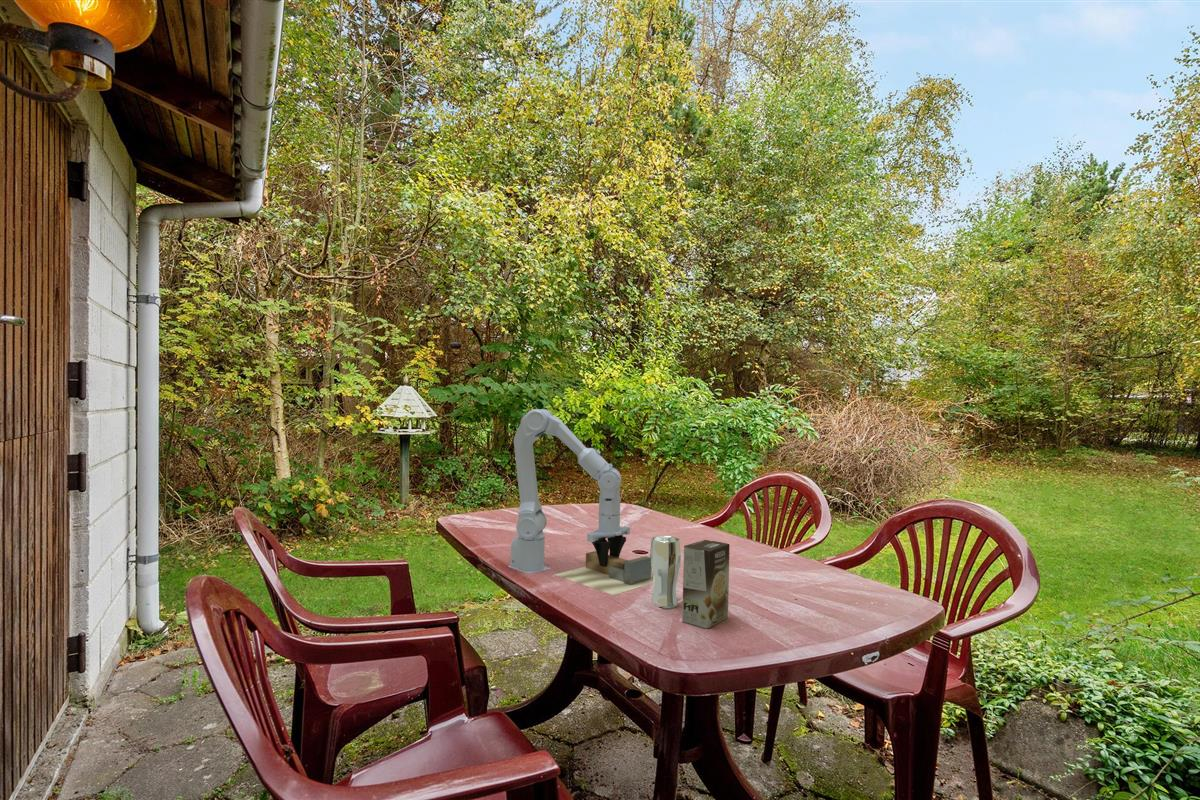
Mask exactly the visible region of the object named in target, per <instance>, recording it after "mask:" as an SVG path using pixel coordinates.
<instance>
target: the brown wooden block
mask: <svg viewBox="0 0 1200 800" xmlns="http://www.w3.org/2000/svg"><path fill="white" fill-rule="evenodd" d="M629 560H630V559H626V558H622V557H619V558H618V557H615V556H611V555H610V554H608V563H607V567H603V566H600V564H599V559H598V555H597V552H596V550H595V551H590V552H586V553H585V567H586V568H588V569H591V570H594V571H598V572H601V573H604V574H607V575H609V566H611V565H612V566H615V567H619V568H622V569H624V567H625V561H629Z"/></svg>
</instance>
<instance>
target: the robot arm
mask: <svg viewBox="0 0 1200 800" xmlns="http://www.w3.org/2000/svg"><path fill="white" fill-rule="evenodd" d="M543 434H546V435H550V436H555V437H557V438H558V439H559V440H560V441H561V442H562V443H563V444H564V445H565V446H567V447H568V449H570V450H571V451H572V452H573V453H574V454H575V455H576V456H577V463H578V465H580V466H581V467H582V469H583V470H584V471H585V472H586V473H588V474H589V476H591V478H593V480H595V481H597V485H598V487H599V498H598V529H596V530H594V531H591V532H588V533H586V534H587V535H586V542H591V544H592V545H593V547H594V549H595V551H596V552H597V555H598V559H599V564H600V566H603V567H607V563H608V555H611V556H615V557H618V558H620V555H621V552H622V549H623V547H624V545H625V543H626V541H627V536H628V535H631V527H630V526H625V525H624V526H621V496H620V495H621V490H620V489H621V488H620V485H621V483H622V475H621V473H620V472H619V470H618V468H615V467H614V466H613V464H612V463H608V461H606V459H605V458H604V457H603V456H601V451H600V450H599V449H595V448H594V447H586V446H585V445H584V444H583V443H582V441H580V439H578V437H577V436H576V435H575V434H574V433H573V432H572V431H571V430H570V429H569V428H568V426H567V425H566V424H565V423H564V422H563V421H562V420H561V419H560V418H559V417H558V416H556V415H554V414H553V413H552V412H551V411H550V410H549V409H546V408H541V409H538V408H533V409H530V410H529V411H528V412H526V413H525V415H524V416H523V417H521V419H520V424H519V426H518V428H517V430H516V431H515V435H514V437H513V447H514V455H515V456H514V458H515V466H516V475H517V484H518V493H519V502H520V503H519V508H518V513H517V514H518V520H517V523H516V526H515V527H516V532H517V535H516V536H514V537H513V538H512V541H511V543H510V565H508V566H507V567H509V568H512V569H513V570H517V571H519V572H521V573H525V574H534V573H538V572H541V571H547V570H549V569H552V568H551V567H549V566H547V565H545V544H546V541H545V540H546V537H545V536H546V535H545V533H544V531H543V530H545V528H546V527H547V517H546V515H545V513H544V511H543V507H542V506H543V505H542V504H541V502H540V498H539V492H538V491H539V490H538V481H537V472H536V471H537V470H536V464H535V462H536V461H535V455H534V454H535V453H534V443H535V442H536V441H537V440H538V439H539V438H540V436H541V435H543ZM624 535H627V536H624Z"/></svg>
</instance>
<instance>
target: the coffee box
mask: <svg viewBox="0 0 1200 800" xmlns="http://www.w3.org/2000/svg"><path fill="white" fill-rule="evenodd" d="M730 546H731V545H730V543H727V542H722V541H715V540H709V539H704V540H703V539H702V540H700V541H696V542H693V543H690V544H686V545H684V546H683V575H682V577H683V578H682V579H683V580H682V581H683V582H682V610H681V611H682V615H681V616H682V617H681V618H682V619H681V620H682V623H687V624H689V625H693V626H697V627H699V628H703V629H709V628H711V627H713V626H715V625H717V624H718V623H721V622H722V621H725V620H726V619H728V618H729V589H730V584H729V583H730V581H729V579H730Z"/></svg>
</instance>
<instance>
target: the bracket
mask: <svg viewBox="0 0 1200 800" xmlns="http://www.w3.org/2000/svg"><path fill="white" fill-rule="evenodd" d="M628 560H629V561H625V567H624V569H622V568H619V567H615V566H612V565H611V566H609V578H612V579H615V580H619V581H622V582H624V583H625V584H628V585H633V584H636V583H639V582H642V581H646V580H649V579H651V577H652V572H651V564H650V556H646V555H645V556H641V557H638V558H634V559H628Z"/></svg>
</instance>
